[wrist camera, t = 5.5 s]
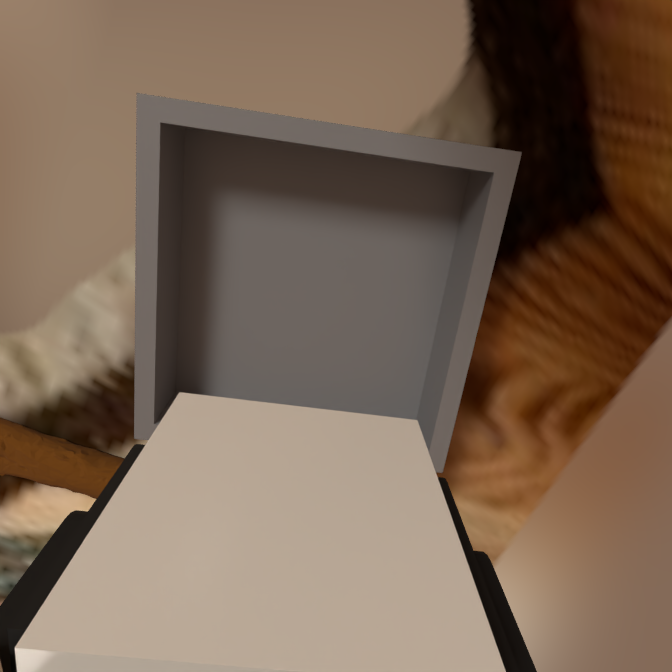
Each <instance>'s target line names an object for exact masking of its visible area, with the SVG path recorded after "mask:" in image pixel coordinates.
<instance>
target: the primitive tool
mask: <svg viewBox="0 0 672 672" xmlns="http://www.w3.org/2000/svg"><path fill="white" fill-rule="evenodd" d="M123 460H124V459H123V458H121V457H117V456H112V455H110V454H108V453H104V452H101V451H98V450H96V449H92V448H87V447H84V446H81V445H76V444H74V443H71V442H69V441H68V440H66V439H62V438H58V437H54V436H49V435H45V434H43V433H41V432H38V431H36V430H33V429H31V428H28V427H25V426H23V425H20V424H17V423H14V422H11V421H8V420H6V419H3V418H0V475H1V476H3V475H13V476H17V477H22V478H26V479H30V480H33V481H35V482H38V483H41V484H45V485H49V486H53V487H60V488H66V489H69V490H71V491H73V492H77V493H82V494H85V495H88V496H90V497H92V498H96V499H97V498H98V497H99V495H100V494H101V492H102V491H103V489H104V488H105V487H106V485H107V484H108V482H109V481H110V479H111V478H112V476H113V475H114V473H115V472H116V471H117V469H118V468H119V466H120V465H121V463H122V462H123Z"/></svg>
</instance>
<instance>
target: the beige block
mask: <svg viewBox="0 0 672 672" xmlns="http://www.w3.org/2000/svg"><path fill="white" fill-rule="evenodd" d="M15 657H16V667H17V672H506V670H505V668H504V665H503V662H502V659H501V656H500V653H499V651H498V648H497V645H496V642H495V639H494V636H493V634H492V631H491V628H490V625H489V622H488V619H487V616H486V614H485V611H484V608H483V605H482V602H481V599H480V597H479V594H478V591H477V588H476V585H475V582H474V580H473V577H472V574H471V571H470V568H469V565H468V563H467V560H466V557H465V554H464V551H463V548H462V545H461V543H460V540H459V537H458V534H457V531H456V528H455V526H454V523H453V520H452V517H451V514H450V511H449V509H448V506H447V503H446V500H445V497H444V494H443V492H442V489H441V486H440V483H439V480H438V477H437V474H436V472H435V469H434V466H433V463H432V460H431V457H430V455H429V452H428V449H427V446H426V443H425V440H424V438H423V435H422V432H421V429H420V426H419V423H418V420H412V419H404V418H395V417H387V416H378V415H370V414H361V413H353V412H344V411H335V410H327V409H318V408H310V407H301V406H293V405H284V404H276V403H267V402H259V401H250V400H242V399H233V398H225V397H216V396H208V395H199V394H191V393H182V392H179V394H178V395H177V397H176V398H175V400H174V401H173V403H172V405H171V406H170V408H169V409H168V411H167V412H166V414H165V415H164V417H163V419H162V420H161V422H160V423H159V425H158V426H157V428H156V429H155V431H154V432H153V434H152V436H151V437H150V439H149V440H148V442H147V443H146V445H145V446H144V448H143V450H142V451H141V453H140V454H139V456H138V457H137V459H136V460H135V462H134V463H133V465H132V467H131V468H130V470H129V471H128V473H127V474H126V476H125V477H124V479H123V481H122V482H121V484H120V485H119V487H118V488H117V490H116V491H115V493H114V495H113V496H112V498H111V499H110V501H109V502H108V504H107V505H106V507H105V508H104V510H103V512H102V513H101V515H100V516H99V518H98V519H97V521H96V522H95V524H94V526H93V527H92V529H91V530H90V532H89V533H88V535H87V536H86V538H85V539H84V541H83V543H82V544H81V546H80V547H79V549H78V550H77V552H76V553H75V555H74V557H73V558H72V560H71V561H70V563H69V564H68V566H67V567H66V569H65V570H64V572H63V574H62V575H61V577H60V578H59V580H58V581H57V583H56V584H55V586H54V588H53V589H52V591H51V592H50V594H49V595H48V597H47V598H46V600H45V601H44V603H43V605H42V606H41V608H40V609H39V611H38V612H37V614H36V615H35V617H34V619H33V620H32V622H31V623H30V625H29V626H28V628H27V629H26V631H25V633H24V634H23V636H22V637H21V639H20V640H19V642H18V643H17V645H16V646H15Z"/></svg>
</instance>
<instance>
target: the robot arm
mask: <svg viewBox="0 0 672 672" xmlns="http://www.w3.org/2000/svg"><path fill="white" fill-rule="evenodd" d="M144 446H145V445H141V444H136V445H134V446H133V447H132V449H131V450H130V452H129V453H128V455H127V456H126V458H125V459H124V460H123V462H122V463H121V465H120V466H119V468H118V469H117V471H116V472H115V473H114V475H113V476H112V478H111V479H110V481H109V482H108V484H107V485H106V487H105V488H104V489H103V491H102V492H101V494H100V495H99V497H98V498H97V500H96V501H95V502H94V504H93V505H92V507H91V508H90V510H89V511H88V512H86V511H73V512H71V513H70V514H69V515H68V516H67V517H66V518H65V520H64V521H63V522H62V524H61V525H60V526H59V528H58V529H57V530H56V532H55V533H54V534H53V536H52V537H51V538H50V540H49V541H48V542H47V544H46V545H45V546H44V548H43V549H42V550H41V552H40V553H39V555H38V556H37V557H36V559H35V560H34V561H33V563H32V564H31V565H30V567H29V568H28V569H27V571H26V572H25V573H24V575H23V576H22V577H21V579H20V580H19V581H18V583H17V584H16V585H15V587H14V588H13V589H12V591H11V592H10V594H9V595H8V596H7V598H6V599H5V600H4V602H3V603H2V604H1V606H0V672H17V667H16V657H15V646H16V645H17V643H18V642H19V640H20V639H21V637H22V636H23V634H24V633H25V631H26V629H27V628H28V626H29V625H30V623H31V622H32V620H33V619H34V617H35V615H36V614H37V612H38V611H39V609H40V608H41V606H42V605H43V603H44V601H45V600H46V598H47V597H48V595H49V594H50V592H51V591H52V589H53V588H54V586H55V584H56V583H57V581H58V580H59V578H60V577H61V575H62V574H63V572H64V570H65V569H66V567H67V566H68V564H69V563H70V561H71V560H72V558H73V557H74V555H75V553H76V552H77V550H78V549H79V547H80V546H81V544H82V543H83V541H84V539H85V538H86V536H87V535H88V533H89V532H90V530H91V529H92V527H93V526H94V524H95V522H96V521H97V519H98V518H99V516H100V515H101V513H102V512H103V510H104V508H105V507H106V505H107V504H108V502H109V501H110V499H111V498H112V496H113V495H114V493H115V491H116V490H117V488H118V487H119V485H120V484H121V482H122V481H123V479H124V477H125V476H126V474H127V473H128V471H129V470H130V468H131V467H132V465H133V463H134V462H135V460H136V459H137V457H138V456H139V454H140V453H141V451H142V450H143V448H144ZM438 480H439V483H440V486H441V489H442V492H443V494H444V497H445V500H446V503H447V506H448V509H449V511H450V514H451V517H452V520H453V523H454V526H455V528H456V531H457V534H458V537H459V540H460V543H461V545H462V548H463V551H464V554H465V557H466V560H467V563H468V565H469V568H470V571H471V574H472V577H473V580H474V582H475V585H476V588H477V591H478V594H479V597H480V599H481V602H482V605H483V608H484V611H485V614H486V616H487V619H488V622H489V625H490V628H491V631H492V634H493V636H494V639H495V642H496V645H497V648H498V651H499V653H500V656H501V659H502V662H503V665H504V668H505V670H506V672H537V671H536V669H535V666H534V664H533V661H532V659H531V657H530V655H529V652H528V650H527V647H526V645H525V642H524V640H523V637H522V635H521V633H520V630H519V628H518V626H517V623H516V621H515V618H514V616H513V613H512V611H511V609H510V606H509V604H508V601H507V599H506V597H505V594H504V592H503V589H502V587H501V584H500V582H499V580H498V577H497V575H496V572H495V570H494V568H493V565H492V563H491V561H490V559H489V557H488V555H487V554H485V553H484V552H480V551H473V548H472V546H471V543H470V541H469V538H468V535H467V533H466V530H465V527H464V525H463V522H462V520H461V517H460V514H459V512H458V509H457V507H456V504H455V501H454V499H453V496H452V493H451V491H450V488H449V486H448V483H447V481H446V479H445V478H440V477H438Z"/></svg>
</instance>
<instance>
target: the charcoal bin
mask: <svg viewBox="0 0 672 672" xmlns="http://www.w3.org/2000/svg"><path fill="white" fill-rule="evenodd" d="M136 125H137V127H136V129H137V130H136V268H135V413H134V439H142V440H149V439H150V437H151V436H152V434H153V432H154V431H155V429H156V428H157V426H158V425H159V423H160V422H161V420H162V419H163V417H164V415H165V414H166V412H167V411H168V409H169V408H170V406H171V405H172V403H173V401H174V400H175V398H176V397H177V395H178V394H179V392H182V393H191V394H199V395H208V396H216V397H225V398H233V399H242V400H250V401H259V402H267V403H276V404H284V405H293V406H301V407H310V408H318V409H327V410H335V411H344V412H353V413H361V414H370V415H378V416H387V417H395V418H404V419H412V420H418V423H419V426H420V429H421V432H422V435H423V438H424V440H425V443H426V446H427V449H428V452H429V455H430V457H431V460H432V463H433V466H434V469H435V472H439V473H443V469H444V465H445V461H446V457H447V453H448V449H449V445H450V441H451V437H452V433H453V429H454V425H455V421H456V417H457V413H458V409H459V405H460V400H461V396H462V392H463V388H464V384H465V380H466V376H467V372H468V368H469V364H470V360H471V356H472V352H473V348H474V344H475V340H476V336H477V332H478V328H479V324H480V320H481V316H482V312H483V308H484V304H485V300H486V295H487V291H488V287H489V283H490V279H491V275H492V271H493V267H494V263H495V259H496V255H497V251H498V247H499V243H500V239H501V235H502V231H503V227H504V223H505V219H506V215H507V211H508V207H509V203H510V199H511V195H512V190H513V186H514V182H515V178H516V174H517V170H518V166H519V162H520V158H521V154H522V152H517V151H511V150H504V149H498V148H491V147H485V146H478V145H472V144H465V143H459V142H452V141H446V140H439V139H433V138H426V137H420V136H413V135H407V134H400V133H394V132H387V131H381V130H374V129H368V128H361V127H355V126H348V125H342V124H335V123H329V122H322V121H315V120H309V119H303V118H295V117H290V116H283V115H277V114H270V113H264V112H257V111H250V110H244V109H238V108H231V107H224V106H218V105H211V104H205V103H199V102H192V101H185V100H179V99H172V98H166V97H160V96H153V95H146V94H140V93H137V123H136Z"/></svg>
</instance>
